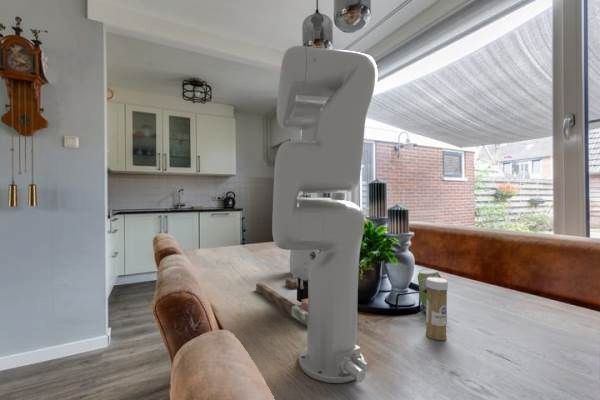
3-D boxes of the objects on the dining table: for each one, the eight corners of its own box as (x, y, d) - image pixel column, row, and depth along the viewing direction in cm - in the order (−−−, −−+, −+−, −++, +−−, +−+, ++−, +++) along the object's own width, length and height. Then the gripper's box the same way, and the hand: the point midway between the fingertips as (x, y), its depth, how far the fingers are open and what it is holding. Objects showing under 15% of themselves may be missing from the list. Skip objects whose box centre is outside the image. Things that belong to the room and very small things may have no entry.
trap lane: (369, 310, 81) (369, 299, 81) (307, 327, 69) (307, 315, 69) (308, 281, 108) (308, 273, 108) (256, 290, 97) (256, 281, 97)
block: (331, 317, 76) (331, 303, 76) (313, 322, 73) (313, 307, 73) (318, 310, 81) (319, 296, 81) (301, 314, 78) (301, 299, 78)
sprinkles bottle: (440, 343, 63) (441, 283, 63) (421, 335, 66) (422, 278, 66) (450, 337, 65) (451, 279, 65) (431, 329, 69) (432, 275, 69)
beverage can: (448, 318, 76) (449, 274, 76) (419, 315, 78) (420, 272, 77) (441, 309, 82) (442, 268, 82) (414, 307, 84) (415, 267, 84)
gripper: (329, 242, 79) (327, 307, 79) (301, 235, 92) (300, 291, 92) (306, 244, 75) (305, 312, 75) (280, 236, 88) (279, 295, 88)
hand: (302, 300), depth 84 cm, fingers closed
